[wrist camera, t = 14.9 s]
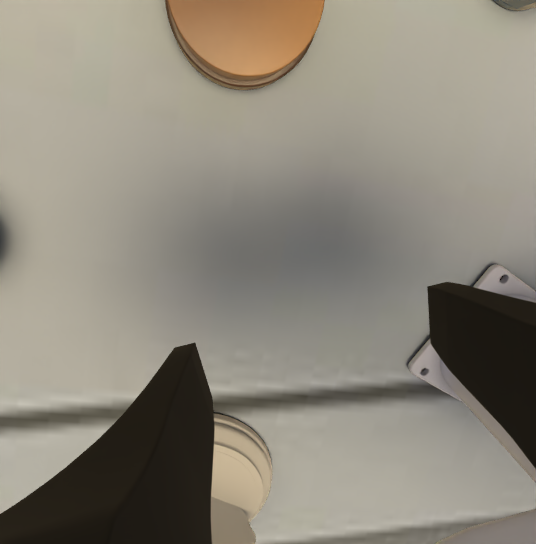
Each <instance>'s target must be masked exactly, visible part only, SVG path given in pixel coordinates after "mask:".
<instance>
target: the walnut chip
mask: <svg viewBox="0 0 536 544" xmlns="http://www.w3.org/2000/svg"><path fill="white" fill-rule="evenodd" d="M165 2H166V10H167V15H168V19H169V22H170V26H171V29H172V31H173V33H174V36H175V38H176V40H177V43H178V45H179V47H180V49H181V50H182V52H183V54H184V55H185V57H186V58H187V59H188V61H189V62H190V63H191V65H192V66H193V67H194V68H195V69H196V70H197V71H198V72H200V73H201V74H202V75H203V76H204V77H206V78H207V79H209V80H211V81H212V82H214V83H216V84H218V85H221V86H224V87H227V88H230V89H237V90H251V89H257V88H261V87H264V86H267V85H269V84H271V83H273V82H275V81H277V80H278V79H280V78H281V77H283V76H285V75H286V74H287V73H288V72H290V71H291V70H292V69H293V68H294V67H295V66H296V65H297V64H298V63H299V62H300V61H301V59H302V58H303V56H304V55H305V53H306V52H307V50H308V48H309V46H310V44H311V42H312V40H313V37H314V36H313V37H312V39H311V41H310V42H309V44H308V45H307V47H306V48H305V49H304V51H303V52H302V53H301V54H300V55H299V56H298V57H297V58H296V59H295V60H293V61H292V62H291V63H290V64H289V65H287V66H286V67H284V68H283V69H281V70H280V71H278V72H277V73H275V74H273V75H270V76H268V77H265V78H262V79H258V80H250V81H249V80H235V79H230V78H227V77H224V76H221V75H219V74H217V73H215V72H213V71H212V70H210V69H209V68H207V67H206V66H204V65H203V64H202V63H201V62H200V61H198V59H197V58H196V57H195V56H194V55H193V54H192V53H191V52H190V50H189V49H188V48H187V46H186V45H185V43H184V42H183V40H182V38H181V36H180V35H179V32H178V30H177V28H176V25H175V23H174V20H173V18H172V15H171V12H170V8H169V5H168V1H167V0H165ZM314 35H315V34H314Z"/></svg>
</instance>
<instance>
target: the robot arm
mask: <svg viewBox="0 0 536 544" xmlns="http://www.w3.org/2000/svg"><path fill="white" fill-rule="evenodd" d="M503 275H504V277H503V279H501V280H500V278H501V276H503ZM428 305H429V324H430V339H429V340H428V341H427V342H426V343H425V345H424V346H423V347H422V348H421V349H420V350H419V352H418V353H417V354H416V355H415V356H414V358H413V359H412V360H411V361H410V363H409V364H408V368H409V370H410V372H411V373H412V374H413V375H415V376H417V377H419V378H421V379H422V380H424V381H426V382H428V383H429V384H431V385H433V386H435V387H437V388H438V389H440V390H442V391H444V392H445V393H447V394H449V395H451V396H452V397H454V398H456V399H458V400H460V401H461V402H463V403H465V404H466V405H467V406H468V407H469V409H470V410H471V411H472V412H473V413H474V414H475V415H476V416H477V418H478V419H479V420H480V421H481V422H482V423H483V424H484V425H485V427H486V428H487V429H488V430H489V431H490V432H491V433H492V434H493V435H494V437H495V438H496V439H497V440H498V441H499V442H500V443H501V444H502V446H503V447H504V448H505V449H506V450H507V451H508V452H509V453H510V454H511V456H512V457H513V458H514V459H515V460H516V461H517V462H518V463H519V465H520V466H521V467H522V468H523V469H524V470H525V471H526V472H527V474H528V475H529V476H530V477H531V478H532V479H533V480H534V481H535V482H536V291H535V290H534V289H532V288H531V287H530V286H528V285H527V284H526V283H524V282H523V281H522V280H520V279H519V278H518V277H516V276H515V275H513V274H512V273H511V272H509V271H508V270H507V269H505V268H504V267H502V266H500V265H498V264H495V265H492V266H490V267H489V268H488V269H487V271H486V272H485V273H484V274H483V275H482V277H481V278H480V279H479V280H478V281H477V282H476V284H475V285H474V286H473V287H470V286H466V285H462V284H457V283H451V282H445V283H441V284H436V285H432V286H428ZM424 368H425V370H424V371H422V372H421V370H422V369H424ZM214 432H215V426H214V412H213V400H212V395H211V392H210V389H209V386H208V382H207V379H206V376H205V373H204V370H203V366H202V363H201V360H200V357H199V354H198V350H197V347H196V344H195V343H192V344H188V345H184V346H180V347H175V348H174V349H173V351H172V352H171V353H170V355H169V356H168V358H167V359H166V360H165V362H164V363H163V365H162V366H161V367H160V369H159V370H158V371H157V373H156V374H155V375H154V377H153V378H152V380H151V381H150V382H149V384H148V385H147V386H146V388H145V389H144V390H143V391H142V392H141V394H140V395H139V396H138V397H137V398H136V400H135V401H134V402H133V403H132V404H131V406H130V407H129V408H128V409H127V410H126V412H125V413H124V414H123V415H122V416H121V417H120V418H119V419H118V420H117V421H116V422H115V423H114V424H113V425H112V426H111V427H110V428H109V429H108V430H107V431H106V432H105V433H104V434H103V435H102V436H101V437H100V438H99V439H98V440H97V441H96V442H95V443H94V444H93V445H91V446H90V447H89V448H88V449H87V450H86V451H84V452H83V453H82V454H81V455H80V456H79V457H77V458H76V459H75V460H74V461H73V462H72V463H70V464H69V465H68V466H67V467H66V468H65V469H63V470H62V471H61V472H59V473H58V474H57V475H56V476H54V477H53V478H52V479H50V480H49V481H48V482H46V483H45V484H44V485H42V486H41V487H39V488H38V489H37V490H35V491H34V492H33V493H31V494H30V495H28V496H27V497H26V498H24V499H23V500H21V501H20V502H18V503H17V504H15V505H14V506H12V507H11V508H9V509H8V510H6V511H4V512H3V513H1V514H0V544H212V534H211V490H212V471H213V453H214ZM435 544H536V509H533V510H530V511H526V512H522V513H519V514H515V515H511V516H508V517H504V518H500V519H497V520H493V521H490V522H486V523H482V524H479V525H475V526H471V527H468V528H466V529H464V530H462V531H459V532H457V533H455V534H453V535H451V536H449V537H446V538H444V539H442V540H440V541H438V542H436V543H435Z"/></svg>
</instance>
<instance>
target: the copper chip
mask: <svg viewBox="0 0 536 544" xmlns="http://www.w3.org/2000/svg"><path fill="white" fill-rule="evenodd" d="M167 1H168V5H169V8H170V12H171V15H172V18H173V20H174V23H175V25H176V28H177V30H178V32H179V35H180V36H181V38H182V40H183V42H184V43H185V45H186V46H187V48H188V49H189V50H190V52H191V53H192V54H193V55H194V56H195V57H196V58H197V59H198V61H200V62H201V63H202V64H203V65H204V66H206V67H207V68H209V69H210V70H212V71H213V72H215V73H217V74H219V75H221V76H224V77H227V78H230V79H235V80H249V81H250V80H258V79H262V78H265V77H268V76H270V75H273V74H275V73H277V72H278V71H280V70H281V69H283V68H284V67H286V66H287V65H289V64H290V63H291V62H292V61H293V60H295V59H296V58H297V57H298V56H299V55H300V54H301V53H302V52H303V51H304V49H305V48H306V47H307V45H308V44H309V42H310V41H311V39H312V37H313V36H314V34H315V32H316V30H317V27H318V25H319V22H320V19H321V16H322V12H323V8H324V1H325V0H167Z"/></svg>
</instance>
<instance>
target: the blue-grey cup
mask: <svg viewBox="0 0 536 544" xmlns="http://www.w3.org/2000/svg"><path fill="white" fill-rule="evenodd" d="M494 1H495V2H496V3H497V4H499V5H500V6H502V7H504V8H506V9H509V10H514V11H521V10H527V9H530V8H536V0H494Z"/></svg>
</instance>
